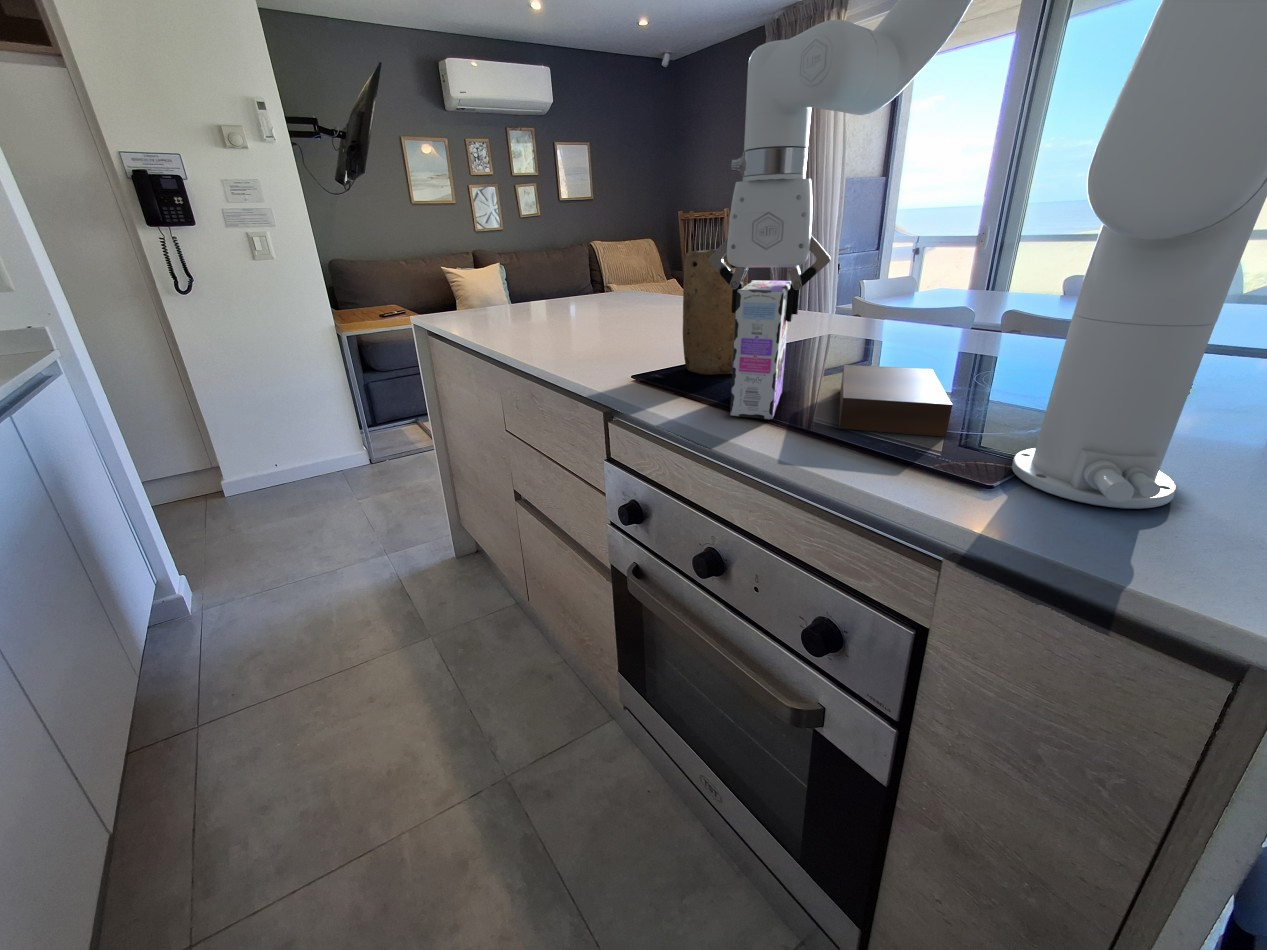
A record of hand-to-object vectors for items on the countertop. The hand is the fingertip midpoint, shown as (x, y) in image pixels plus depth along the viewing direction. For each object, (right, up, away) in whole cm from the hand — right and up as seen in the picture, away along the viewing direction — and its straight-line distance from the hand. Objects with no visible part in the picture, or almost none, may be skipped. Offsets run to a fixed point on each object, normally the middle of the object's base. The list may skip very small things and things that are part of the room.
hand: (764, 318), depth 77 cm
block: (-3, -3, +24) cm, 24 cm away
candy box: (0, -11, +5) cm, 12 cm away
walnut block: (+17, -12, +1) cm, 21 cm away
